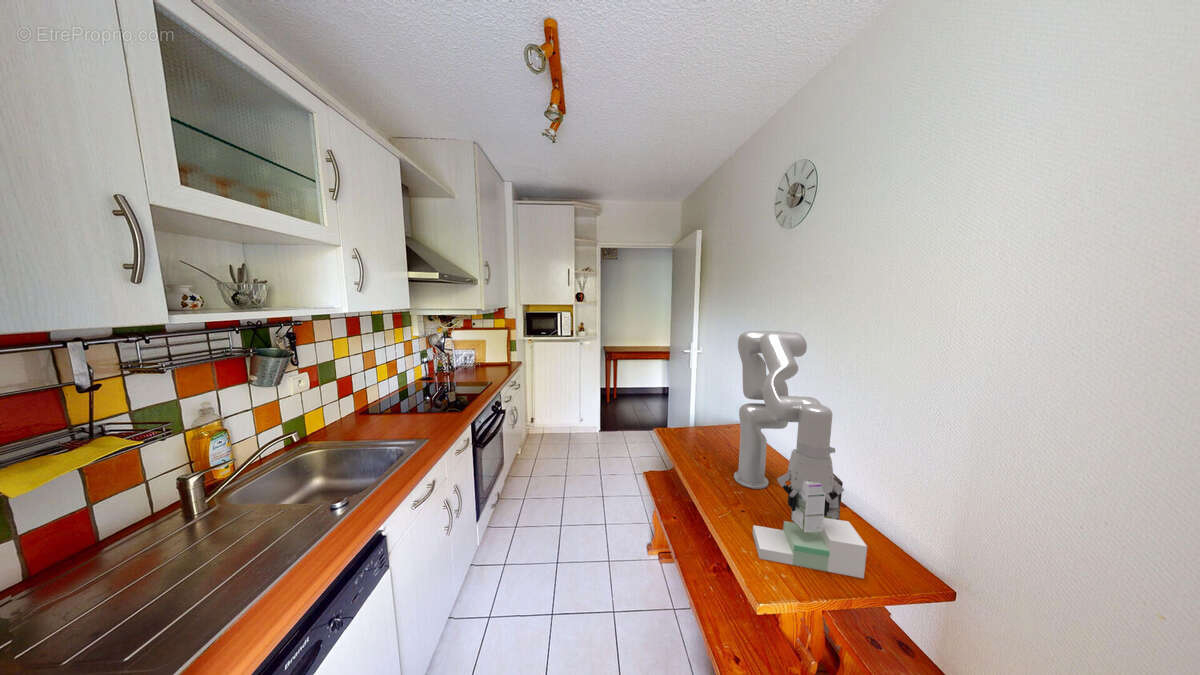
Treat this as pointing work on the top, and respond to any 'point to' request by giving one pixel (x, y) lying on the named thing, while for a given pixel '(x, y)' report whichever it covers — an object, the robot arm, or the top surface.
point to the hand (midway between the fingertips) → (807, 510)
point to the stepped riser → (814, 547)
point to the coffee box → (835, 503)
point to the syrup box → (809, 507)
